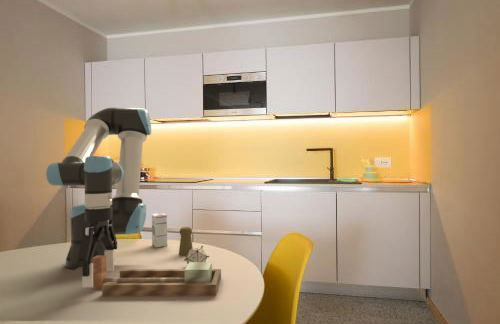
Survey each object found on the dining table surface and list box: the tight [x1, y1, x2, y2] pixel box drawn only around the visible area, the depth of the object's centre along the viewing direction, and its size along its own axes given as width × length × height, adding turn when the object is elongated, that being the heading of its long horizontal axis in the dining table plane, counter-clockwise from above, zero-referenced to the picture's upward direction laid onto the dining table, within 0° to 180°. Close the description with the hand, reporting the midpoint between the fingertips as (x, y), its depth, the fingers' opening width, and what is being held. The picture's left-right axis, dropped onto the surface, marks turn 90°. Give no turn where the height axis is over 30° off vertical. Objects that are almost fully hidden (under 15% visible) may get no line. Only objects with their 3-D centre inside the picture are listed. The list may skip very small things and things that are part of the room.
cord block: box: [91, 255, 213, 290], centre depth 95 cm, size 35×7×9 cm, turn 89°
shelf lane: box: [101, 268, 222, 297], centre depth 95 cm, size 32×13×4 cm, turn 89°
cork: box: [178, 226, 194, 257], centre depth 133 cm, size 6×6×11 cm
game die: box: [183, 245, 210, 265], centre depth 113 cm, size 9×8×10 cm
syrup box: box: [151, 212, 168, 248], centre depth 146 cm, size 6×6×14 cm
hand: (99, 278), depth 95 cm, fingers open, 12 cm apart
